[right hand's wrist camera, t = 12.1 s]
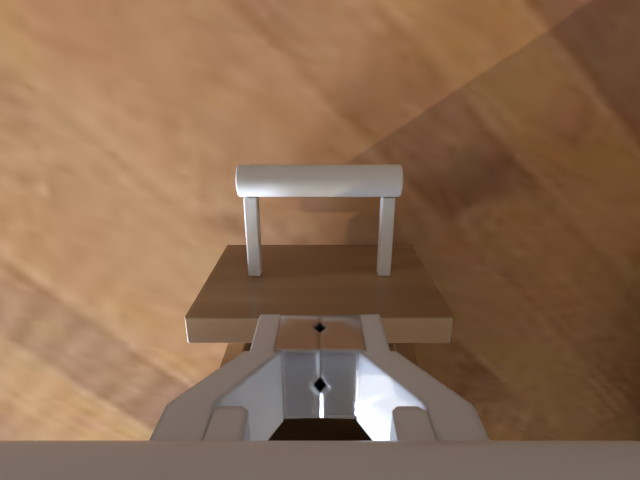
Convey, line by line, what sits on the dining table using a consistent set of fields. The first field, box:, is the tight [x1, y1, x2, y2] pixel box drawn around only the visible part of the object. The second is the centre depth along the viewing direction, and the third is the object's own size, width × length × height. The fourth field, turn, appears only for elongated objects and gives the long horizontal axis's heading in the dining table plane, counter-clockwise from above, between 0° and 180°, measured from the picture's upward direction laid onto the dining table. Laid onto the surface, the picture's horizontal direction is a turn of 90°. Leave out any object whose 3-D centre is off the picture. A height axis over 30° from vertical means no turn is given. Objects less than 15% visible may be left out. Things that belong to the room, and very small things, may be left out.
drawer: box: [185, 165, 454, 441], centre depth 22 cm, size 26×10×8 cm, turn 0°
